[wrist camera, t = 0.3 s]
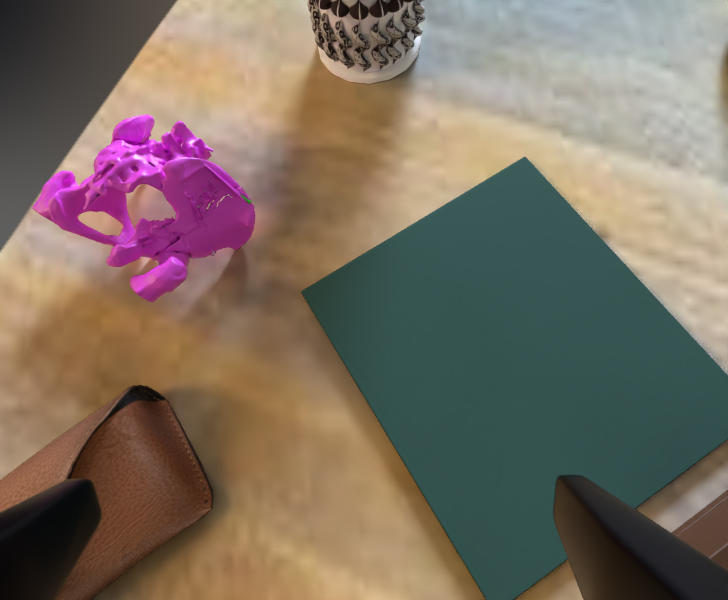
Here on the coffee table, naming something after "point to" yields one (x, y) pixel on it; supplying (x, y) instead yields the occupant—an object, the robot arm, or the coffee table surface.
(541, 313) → the mat
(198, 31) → the coffee table surface
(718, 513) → the tray
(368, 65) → the tiered tower figurine
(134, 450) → the sunglasses case
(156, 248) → the pelvis
